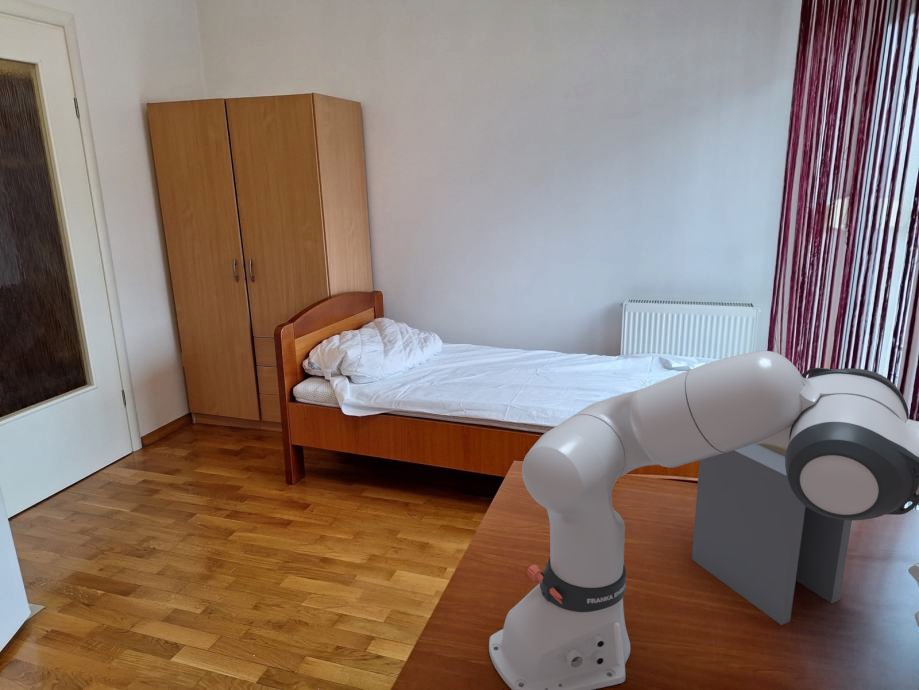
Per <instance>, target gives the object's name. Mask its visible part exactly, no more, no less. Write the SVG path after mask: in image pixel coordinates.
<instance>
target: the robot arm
mask: <svg viewBox="0 0 919 690" xmlns="http://www.w3.org/2000/svg"><path fill="white" fill-rule="evenodd" d="M812 373H813V374H812ZM809 374H811V375H809ZM808 375H809V376H808ZM807 376H808V377H807ZM909 417H910V414H909V408H908V405H907V402H906V399H905V398H904V395H903V394H902V393H901V391H900V389H899V388H898V387H897V386H896V384H895V383H894V382H892V381H891V380H889V378H888V377H886V376H884V375H882V374H880V373H878V372H876V371H872V370H869V369H862V368H824V367H813V368H809V369H808V370H806V371H804V372H803V373H802V374H801V372H800V371H799V370H798V367H796V365H794V363H793V362H791V361H790V359H788V357H785V356H784V355H782V354H780V353H778V352H775V351H772V350H771V351H770V350H759V351H758V350H757V351H752V352H746V353H742V354H737V355H732V356H728V357H725V358H722V359H718V360H715V361H711V362H708V363H705V364H702V365H699V366H696V367H694V368H691V369H688V370H686V371H684V372H682V373H678V374H676V375H673V376H671V377H668V378H666V379H664V380H660V381H659V382H656V383H653V384H651V385H648V386H646V387H643V388H640V389H637V390H633V391H629V392H624V393H621V394H618V395H615V396H612V397H608V398H606V399H603V400H599V401H597V402H595V403H591V404H589V405H587V406H586V407H584V408H582V409H581V410H579V411H578V412H577V413H575V414H574V415H572V416H570V417H569V418H567V419H565V420H564V421H562V422H561V423H559V424H558V425H556V426H555V427H553V428H552V429H550V430H548V431H547V432H545V433H543V434H542V435H541V436H540V437H539V439H538V440H537V441H536V442H535V443H534V445H532V447H531V448H530V449H529V451H528V452H527V453H526V455H525V456H524V459H523V462H522V465H521V475H522V480H523V483H524V486H525V488H526V490H527V492H528V493H529V495H530V496H531V497H532V498H533V500H535V502H537V503H538V504H539V505H540V506H542V507H543V508H544V509H546V512H547V516H548V520H549V536H550V537H549V542H550V543H549V545H550V547H549V549H550V551H549V552H550V553H549V555H550V556H549V558H548V561H547V563H546V565H545V567H544V569H543V570H541V568H540V567H539V565H537V564H531V565H530V566H529V567H528V569H527V572H526V573H527V575H528V577H529V578H531V579H532V581H533V582H534V583H538V584H537V585H536V586H535V587H533V588H532V589H531V590H530V591H529V592H528V593H527V594H526V595H525V596H524V597H523V598H522V599H521V600H520V601H519V602H517V603H516V604H515V605H514V607H512V608H511V609H510V610H509V611H508V612H507V615H506V617H505V621H504V625H503V628H502V629H501V630H500V629H499V630H498V631H496V632H495V633H493V634H492V635H490V636H489V641H488V652H489V656H490V660H491V662H492V665H493V667H494V668H495V670H496V671H497V673H498V675H499V676H500V677H501V678H502V680H503V681H504V683H505V684H506V685H507V686H508V687H509V688H510V689H511V690H596V689H597V690H598V689H601V688H605V687H611V686H615V685H619V684H622V683H624V682H625V681H626V664H627V661H628V659H629V657H630V654H631V642H630V639H629V638H630V637H629V634H628V631H627V627H626V621H625V614H624V613H625V612H624V596H625V593H626V586H627V585H626V584H627V583H626V582H627V579H626V578H627V574H626V572H627V571H626V565H625V563H624V560H625V559H624V558H625V539H626V538H625V537H626V536H625V535H626V534H625V533H626V526H625V522H624V520H623V518H622V516H621V514H620V513H619V512H618V511H616V510H615V509H614V507H613V502H612V496H613V495H612V493H613V489H614V487H615V484H616V482H617V480H618V479H620V478H621V477H624V475H626V474H627V473H629V472H631V471H634V470H636V469H640V468H642V467H646V466H661V467H664V468H677V467H680V466H684V465H687V464H691V463H695V462H698V461H700V460H702V459H705V458H709V457H712V456H716V455H720V454H723V453H727V452H730V451H733V450H737V449H740V448H743V447H746V446H748V445H751V444H763V443H771V444H779V445H784V446H788V447H787V450H786V455H785V467H786V474H787V478H788V482H789V484H790V487H791V489H792V491H793V492H794V494H795V495H796V497H797V498H798V499H799V500H800V501H801V502H802V503H803V504H804V505H805V506H806V507H808V508H809V509H811V510H812V511H814V512H816V513H818V514H820V515H823V516H826V517H829V518H834V519H839V520H852V521H864V520H871V519H876V518H879V517H880V518H881V517H883V516H885V515H894V516H896V515H897V516H900V515H905V514H907V513H910V512H911V511H913V509H914V508H916V507H917V506H918V507H919V421H918V420H913V419H910V418H909ZM909 502H910V503H911V504H910V505H909V506H907V507H904V506H905V505H907V504H908V503H909ZM907 572H908V574H910V576H911V577H912V578H913V579H914V580H915V581H916V582H917V586H918V588H919V563H916V564H913V565H912V566H910V567H909V568H908V571H907ZM914 617H915V621H916V624H917V627H918V628H919V610H918V611H916V612H915V613H914Z"/></svg>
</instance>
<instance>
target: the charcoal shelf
mask: <svg viewBox="0 0 919 690" xmlns="http://www.w3.org/2000/svg"><path fill="white" fill-rule="evenodd" d="M697 477H698V478H697V487H696V501H695V502H696V503H695V511H694V512H695V513H694V529H693V540H692V549H691V550H692V551H691V560H692V561H693V562H695V563H696V564H697V565H699V566H700V567H701V568H702V569H704V570H705V571H707V572H708V573H709V574H711V575H712V576H713V577H715V578H716V579H718V580H719V581H720V582H722V584H725V585H726V586H728V588H730V589H732V590H733V591H734V592H735V593H737V594H738V595H740V596H741V597H742V598H744V600H746V601H748V602H749V603H750V604H752V606H755V607H756V608H757V609H758V610H760V611H761V612H762V613H764V614H765V615H767V616H768V617H769V618H771V619H772V620H774V621H775V622H777V623H778V624H779V625H780V626H783V625H785V624H787V623H790V622H791V617H792V610H793V603H794V595H795V587H796V582H797V583H799V584H800V585H803V586H804V587H805V588H807V589H808V590H810V591H812V592H813V593H815V594H816V595H818V596H819V597H820V598H822V599H823V600H826V601H827V602H829V603H830V604H834V603H835V602H839V601H840V597H841V592H842V585H843V579H844V573H845V568H846V567H845V566H846V559H847V554H848V546H849V542H850V535H851V529H852V523H853V520H839V519H834V518H829V517H826V516H823V515H820V514H818V513H816V512H814V511H812V510H811V509H809V508H808V507H806V506H805V505H804V504H803V503H802V502H801V501H800V500H799V499H798V498H797V497H796V495H795V494H794V492H793V491H792V489H791V487H790V484H789V482H788V478H787V474H786V467H785V456H783V455H781V454H779V453H777V452H774V451H772V450H770V449H768V448H766V447H763V446H761V445H759V444H751V445H748V446H746V447H743V448H740V449H737V450H733V451H730V452H727V453H723V454H720V455H716V456H712V457H709V458H705V459H702V460H699V465H698V476H697Z"/></svg>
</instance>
